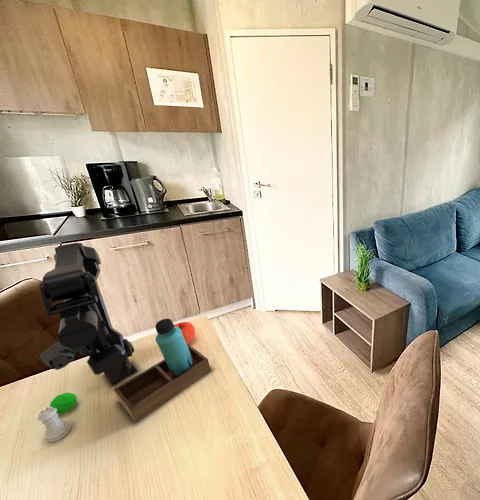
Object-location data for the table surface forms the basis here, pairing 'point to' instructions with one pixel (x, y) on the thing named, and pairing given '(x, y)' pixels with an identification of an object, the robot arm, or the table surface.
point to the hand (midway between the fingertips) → (108, 372)
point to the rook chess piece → (53, 424)
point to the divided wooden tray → (158, 386)
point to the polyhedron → (64, 402)
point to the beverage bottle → (173, 347)
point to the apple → (186, 331)
